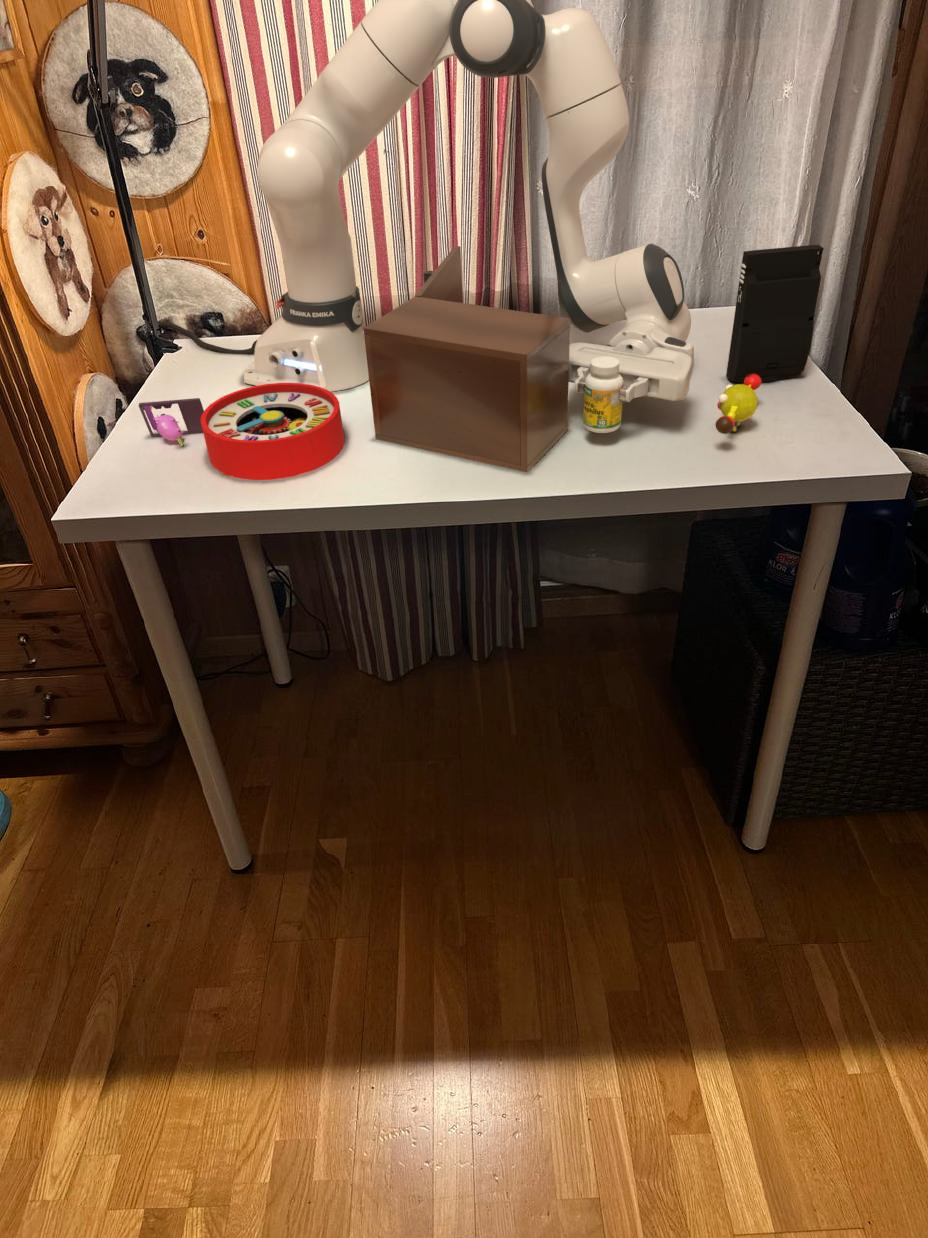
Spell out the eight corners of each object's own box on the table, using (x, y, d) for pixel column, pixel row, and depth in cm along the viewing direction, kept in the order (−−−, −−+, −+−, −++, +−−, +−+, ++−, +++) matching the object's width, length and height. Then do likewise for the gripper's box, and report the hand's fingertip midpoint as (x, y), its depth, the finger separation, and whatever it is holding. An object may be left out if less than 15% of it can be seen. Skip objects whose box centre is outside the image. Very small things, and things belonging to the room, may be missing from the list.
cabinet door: (390, 397, 149) (380, 294, 139) (431, 340, 168) (424, 245, 158) (428, 400, 148) (420, 295, 137) (464, 341, 167) (460, 245, 156)
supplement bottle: (628, 425, 133) (633, 361, 127) (603, 437, 130) (607, 372, 124) (599, 413, 136) (602, 350, 130) (575, 426, 133) (577, 362, 127)
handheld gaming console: (794, 369, 151) (817, 243, 139) (806, 381, 147) (831, 251, 135) (723, 377, 150) (740, 250, 138) (733, 388, 146) (752, 259, 134)
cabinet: (423, 402, 147) (415, 296, 137) (567, 431, 137) (570, 318, 127) (375, 439, 138) (363, 328, 127) (527, 473, 128) (526, 354, 117)
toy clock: (367, 408, 133) (248, 457, 122) (371, 445, 136) (255, 495, 126) (289, 371, 145) (175, 412, 135) (295, 406, 148) (184, 448, 138)
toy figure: (730, 401, 143) (736, 359, 139) (767, 407, 141) (774, 364, 136) (697, 452, 130) (703, 407, 126) (736, 459, 128) (743, 414, 124)
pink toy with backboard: (199, 394, 137) (138, 399, 137) (198, 419, 134) (135, 424, 134) (210, 426, 143) (152, 431, 142) (209, 451, 140) (149, 456, 140)
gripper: (572, 325, 140) (534, 358, 131) (704, 345, 132) (673, 382, 123) (571, 365, 144) (533, 400, 135) (699, 387, 136) (668, 426, 127)
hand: (601, 392), depth 129 cm, fingers closed on supplement bottle, 5 cm apart
